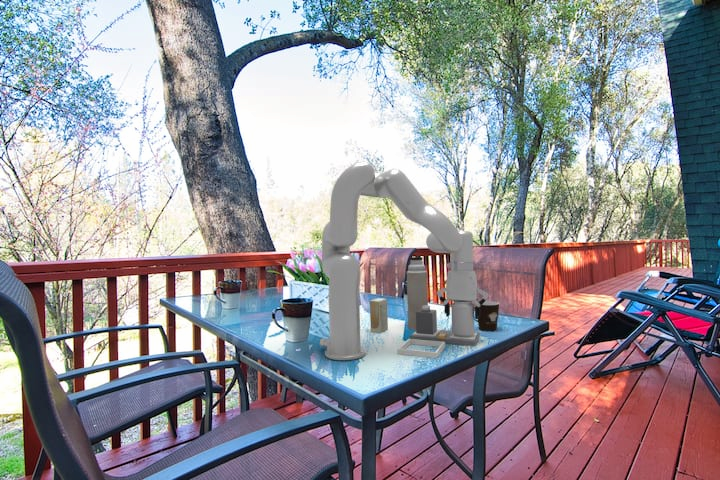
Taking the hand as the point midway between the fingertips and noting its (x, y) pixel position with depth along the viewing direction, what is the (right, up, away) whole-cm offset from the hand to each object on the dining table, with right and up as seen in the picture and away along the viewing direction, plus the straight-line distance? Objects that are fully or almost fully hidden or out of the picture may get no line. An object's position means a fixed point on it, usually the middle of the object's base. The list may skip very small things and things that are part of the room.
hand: (462, 316), depth 128 cm
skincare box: (-28, -9, +16) cm, 33 cm away
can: (0, -6, 0) cm, 6 cm away
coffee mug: (+12, -8, +15) cm, 21 cm away
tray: (-16, -9, -10) cm, 20 cm away
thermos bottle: (-12, -9, +19) cm, 24 cm away
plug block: (-11, -7, +6) cm, 14 cm away
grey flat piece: (-5, -8, +3) cm, 10 cm away
